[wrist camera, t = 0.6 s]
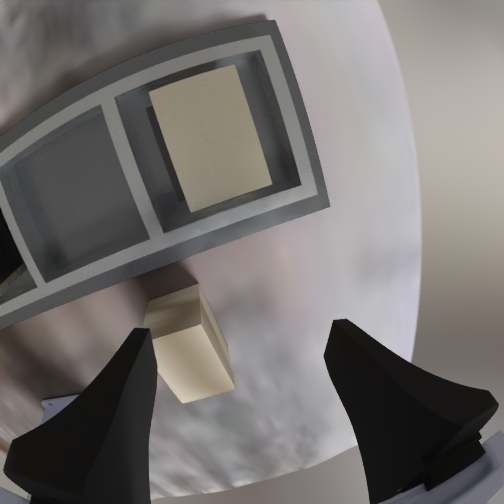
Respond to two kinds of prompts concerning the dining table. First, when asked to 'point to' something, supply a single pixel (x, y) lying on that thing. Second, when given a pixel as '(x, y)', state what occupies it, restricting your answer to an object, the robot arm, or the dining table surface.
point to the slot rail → (153, 167)
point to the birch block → (189, 345)
